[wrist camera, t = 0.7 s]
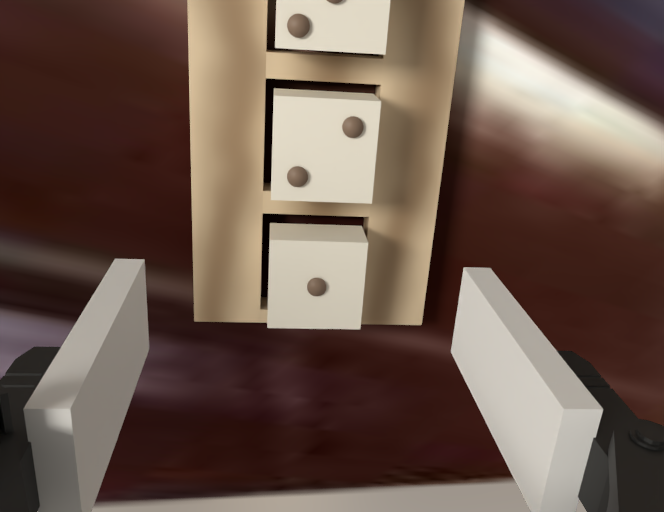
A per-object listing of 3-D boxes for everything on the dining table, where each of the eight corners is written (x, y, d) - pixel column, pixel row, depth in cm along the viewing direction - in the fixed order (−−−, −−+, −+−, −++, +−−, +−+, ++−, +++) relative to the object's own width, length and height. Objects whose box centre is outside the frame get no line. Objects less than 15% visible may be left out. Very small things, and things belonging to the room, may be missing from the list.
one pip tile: (267, 305, 43) (267, 329, 40) (270, 222, 41) (269, 241, 38) (354, 307, 43) (360, 330, 40) (361, 225, 41) (368, 243, 38)
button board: (197, 308, 45) (194, 321, 43) (189, -105, 35) (185, -110, 33) (415, 312, 47) (421, 325, 45) (465, -81, 37) (476, -86, 35)
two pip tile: (271, 185, 40) (270, 201, 37) (273, 88, 37) (273, 96, 34) (365, 189, 40) (372, 204, 37) (373, 93, 38) (381, 101, 35)
